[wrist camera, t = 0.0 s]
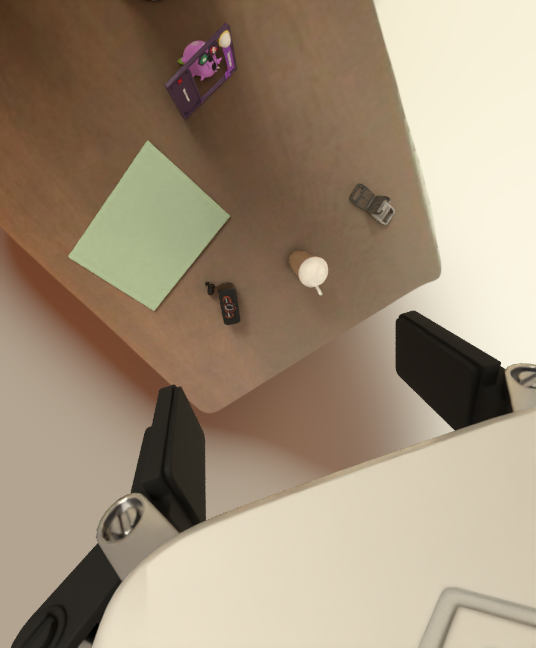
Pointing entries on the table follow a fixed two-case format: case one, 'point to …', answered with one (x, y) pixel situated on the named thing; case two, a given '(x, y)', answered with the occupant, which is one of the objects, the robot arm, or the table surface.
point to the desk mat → (149, 229)
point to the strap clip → (373, 204)
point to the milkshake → (309, 269)
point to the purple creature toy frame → (200, 70)
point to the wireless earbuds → (227, 302)
